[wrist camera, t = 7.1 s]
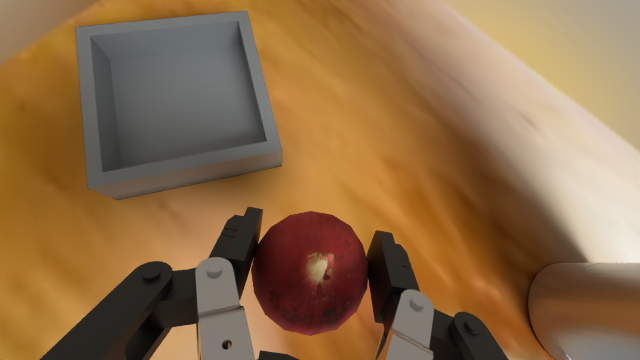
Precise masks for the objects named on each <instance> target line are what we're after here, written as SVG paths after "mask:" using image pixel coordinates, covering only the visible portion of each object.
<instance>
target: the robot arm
mask: <svg viewBox="0 0 640 360" xmlns="http://www.w3.org/2000/svg"><path fill="white" fill-rule="evenodd" d="M262 215H263V209H258V208H253V207H248V208H247V210H246V212H245V214H244V216H239V215H234V216H233V217H232V218H230V219H229V220H228V221H227V222H226V224H225V226H224V229H223V230H222V232H221V235H220V236H219V238H218V240H217V242H216V244H215V246H214V248H213V250H212V252H211V254H210V256H209V258H208V259H206V260H204V261H202V262H201V263H200V264H199V265H198V266H197V267H196V268H193V269H188V270H178V271H172V268H171V266H170V265H168V264H167V263H164V262H159V261H154V262H148V263H145V264H143V265H140V266H139V267H137V268H136V269H135V270H134V271H133V272H131V273H130V274H129V275H128V276H127V277H126V278H125V279H124V280H123V281H122V282H121V283H120V284H119V285H118V286H117V287H116V288H115V289H114V290H113V291H111V292H110V293H109V294H108V295H107V296H106V297H105V298H104V299H103V300H102V301H101V302H100V303H99V304H98V305H97V306H96V307H95V308H94V309H92V310H91V311H90V312H89V313H88V314H87V315H86V316H85V317H84V318H83V319H82V320H81V321H80V322H79V323H78V324H77V325H76V326H75V327H73V328H72V329H71V330H70V331H69V332H68V333H67V334H66V335H65V336H64V337H63V338H62V339H61V340H60V341H59V342H58V343H57V344H56V345H55V346H53V347H52V348H51V349H50V350H49V351H48V352H47V353H46V354H45V355H44V356H43V357H42V358H41V359H40V360H149V359H150V358H151V356H152V355H153V354H154V352H155V351H156V349H157V348H158V347H159V345H160V344H161V342H162V341H163V340H164V338H165V337H166V335H167V334H168V333H169V331H170V330H171V328H172V327H177V326H183V325H190V324H196V335H197V352H198V360H255V357H254V352H253V347H252V342H251V338H250V333H249V328H248V323H247V319H246V314H245V310H244V307H243V306H240V302H239V301H240V299H241V296H242V293H243V289H244V286H245V283H246V280H247V277H248V274H249V271H250V267H251V264H252V261H253V258H254V255H255V251H256V246H257V245H258V241H259V237H260V230H261V222H262ZM366 258H367V261H368V265H369V271H368V280H369V286H370V293H371V299H372V305H373V312H374V318H375V322H377V323H383V324H384V331H383V333H382V335H381V338H380V341H379V345H378V348H377V351H376V354H375V358H374V360H508V358H507V357H506V355H505V354H504V352H503V351H502V349H501V348H500V346H499V345H498V343H497V342H496V340H495V339H494V337H493V336H492V334H491V333H490V331H489V330H488V328H487V327H486V326H485V324H484V323H483V322H482V321H481V320H480V319H478V318H477V317H476V316H474V315H472V314H470V313H467V312H458V313H456V315H455V316H454V318H453V317H451V316H449V315H447V314H444V313H442V312H440V311H438V310H436V309H434V307H433V304H432V302H431V301H430V300H429V298H428V297H427V296H425V295H424V294H423V293H421V292H420V290H419V287H418V284H417V281H416V278H415V275H414V272H413V269H412V267H411V264H410V262H409V258H408V255H407V252H406V251H405V250H404V249H403V247H402V246H401V245H400V244H395V241H394V238H393V235H392V233H389V232H384V231H378V230H377V231H376V232H375V234H374V237H373V239H372V242H371V245H370V247H369V250H368V253H367V257H366ZM528 310H529V317H530V321H531V324H532V327H533V330H534V332H535V334H536V336H537V338H538V340H539V342H540V343H541V344H542V346H543V347H544V349H545V350H546V351H547V352H548V353H549V354H550V355H551V356H552V357H553V358H554V359H555V360H640V263H555V264H552V265H549V266H547V267H545V268H544V269H542V270H541V271H540V272H539V273H538V274H537V276H536V277H535V278H534V281H533V283H532V285H531V287H530V292H529V296H528ZM258 360H299V359H297V358H294V357H292V356H290V355H287V354H281V353H274V352H267V351H260V354H259V359H258Z"/></svg>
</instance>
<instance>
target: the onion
mask: <svg viewBox="0 0 640 360" xmlns="http://www.w3.org/2000/svg"><path fill="white" fill-rule="evenodd" d="M368 271H369V265H368V261H367V258H366V255H365V252H364V248H363V245H362V243H361V242H360V240H359V239H358V237H357V235H356V234H355V232H354V231H353V229H352V228H351V226H350V225H348V224H346V223H345V222H343V221H341V220H340V219H338V218H337V217H335V216H333V215H330V214H325V213H319V212H313V211H309V212H304V213H299V214H294V215H289V216H288V217H286V218H285V219H283V220H281V221H280V222H278V223H277V224H275V225H274V226H272V227H271V228H270V229H269V230H268V232H267V233H266V234H265V236H264V237H263V238H262V240H261V241H260V242H259V244H258V245H257V246H256V251H255V255H254V260H253V264H252V268H251V273H252V280H253V287H254V293H255V295H256V297H257V299H258V301H259V303H260V305H261V307H262V309H263V311H264V313H265V315H266V316H268V317H269V318H270V319H271V320H273V321H274V322H275V323H276V324H278V325H279V326H280V327H281V328H283V329H284V330H287V331H291V332H295V333H300V334H304V335H309V336H312V335H316V334H320V333H324V332H328V331H332V330H336V329H338V328H339V327H340V326H341V325H342V324H343V323H344V322H346V321H347V320H348V319H349V318H350V317H351V316H352V315H353V314H354V313H355V312H356V311H357V309H358V307H359V305H360V302H361V300H362V298H363V296H364V293H365V291H366V289H367V283H368Z"/></svg>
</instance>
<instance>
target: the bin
mask: <svg viewBox="0 0 640 360" xmlns="http://www.w3.org/2000/svg"><path fill="white" fill-rule="evenodd" d="M75 30H76V43H77V56H78V69H79V81H80V94H81V107H82V120H83V133H84V146H85V159H86V172H87V185H88V189H90V190H93V191H95V192H98V193H101V194H103V195H106V196H108V197H111V198H113V199H116V200H121V199H126V198H130V197H135V196H140V195H145V194H150V193H154V192H159V191H164V190H169V189H174V188H179V187H183V186H188V185H193V184H198V183H203V182H207V181H212V180H217V179H222V178H227V177H231V176H236V175H241V174H246V173H251V172H256V171H260V170H265V169H270V168H275V167H280V166H282V148H281V144H280V140H279V136H278V132H277V128H276V124H275V120H274V116H273V112H272V108H271V104H270V100H269V96H268V92H267V88H266V84H265V80H264V76H263V72H262V68H261V64H260V60H259V56H258V52H257V48H256V44H255V40H254V36H253V32H252V28H251V24H250V20H249V16H248V12H247V11H239V12H229V13H218V14H207V15H197V16H186V17H176V18H165V19H155V20H144V21H134V22H123V23H113V24H102V25H92V26H81V27H75Z"/></svg>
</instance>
